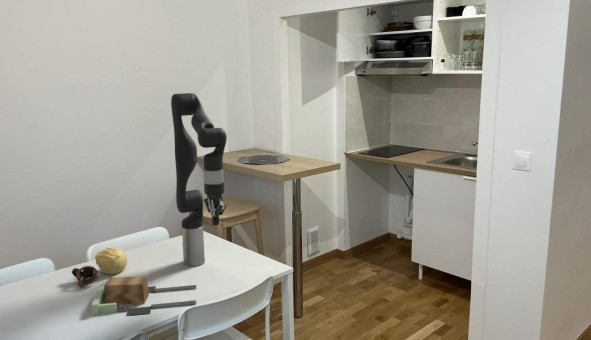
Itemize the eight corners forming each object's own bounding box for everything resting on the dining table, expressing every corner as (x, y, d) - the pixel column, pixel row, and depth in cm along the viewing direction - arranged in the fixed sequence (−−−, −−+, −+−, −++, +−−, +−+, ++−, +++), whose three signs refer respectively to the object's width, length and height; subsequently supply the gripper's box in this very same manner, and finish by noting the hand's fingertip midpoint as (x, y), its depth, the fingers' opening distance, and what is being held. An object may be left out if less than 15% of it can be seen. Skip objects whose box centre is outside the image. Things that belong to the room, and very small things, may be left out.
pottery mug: (105, 278, 203) (103, 266, 197) (92, 297, 196) (90, 285, 190) (78, 270, 204) (76, 258, 198) (65, 288, 197) (62, 276, 191)
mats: (126, 316, 171) (126, 315, 171) (135, 288, 192) (134, 287, 192) (150, 313, 172) (150, 312, 172) (155, 286, 193) (155, 286, 193)
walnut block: (106, 305, 179) (104, 285, 177) (111, 296, 186) (110, 277, 184) (144, 304, 180) (142, 284, 178) (148, 295, 187) (147, 276, 185)
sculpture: (92, 275, 205) (90, 251, 203) (112, 264, 216) (110, 241, 214) (113, 279, 201) (111, 254, 199) (133, 268, 212) (131, 244, 210)
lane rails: (116, 311, 174) (116, 309, 174) (123, 293, 188) (122, 291, 187) (195, 304, 179) (195, 301, 179) (196, 287, 193) (196, 284, 192)
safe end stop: (92, 315, 172) (91, 305, 171) (101, 294, 187) (100, 285, 186) (116, 313, 173) (115, 302, 172) (123, 292, 188) (122, 283, 188)
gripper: (196, 179, 184) (198, 222, 188) (214, 186, 174) (216, 231, 178) (213, 176, 189) (215, 218, 193) (232, 182, 179) (233, 227, 183)
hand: (215, 224), depth 185 cm, fingers closed
